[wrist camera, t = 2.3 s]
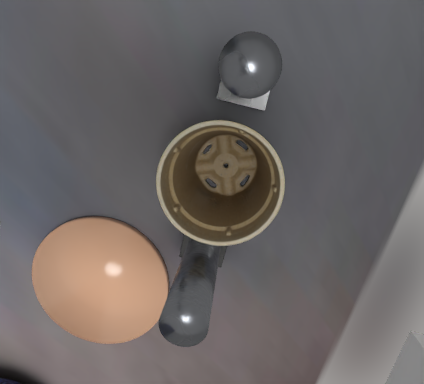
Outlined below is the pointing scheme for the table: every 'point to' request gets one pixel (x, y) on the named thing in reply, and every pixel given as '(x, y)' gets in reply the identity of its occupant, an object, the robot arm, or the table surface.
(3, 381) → the planter
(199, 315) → the post
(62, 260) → the saucer
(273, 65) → the post
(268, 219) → the flower pot
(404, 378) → the robot arm
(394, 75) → the table surface
